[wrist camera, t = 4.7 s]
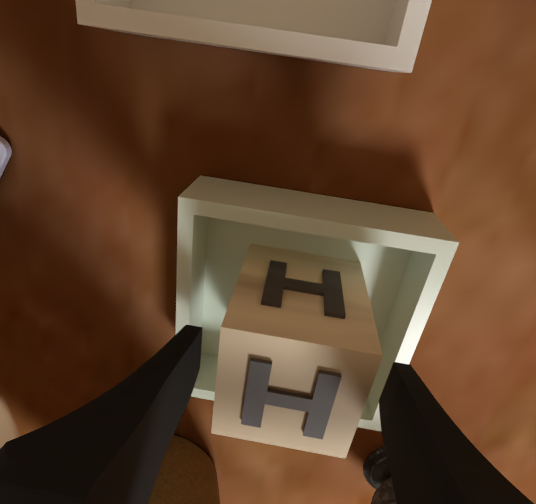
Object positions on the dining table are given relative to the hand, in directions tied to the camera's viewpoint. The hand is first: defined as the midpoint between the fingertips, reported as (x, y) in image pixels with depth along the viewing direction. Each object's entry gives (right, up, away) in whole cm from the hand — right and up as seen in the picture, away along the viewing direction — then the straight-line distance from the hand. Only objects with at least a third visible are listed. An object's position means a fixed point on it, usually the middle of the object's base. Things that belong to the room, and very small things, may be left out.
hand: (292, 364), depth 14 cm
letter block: (0, +2, +4) cm, 4 cm away
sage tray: (+1, +2, +4) cm, 5 cm away
